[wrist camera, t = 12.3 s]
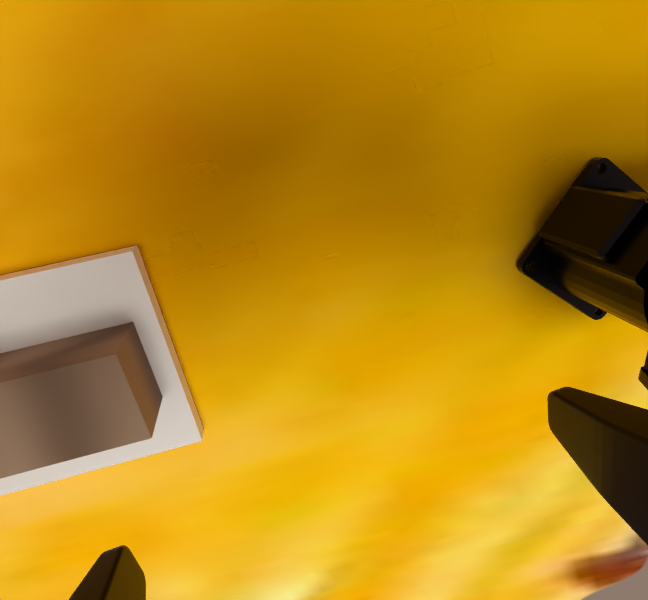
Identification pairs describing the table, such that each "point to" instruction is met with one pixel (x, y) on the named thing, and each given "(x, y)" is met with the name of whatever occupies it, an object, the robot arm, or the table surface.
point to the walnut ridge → (75, 398)
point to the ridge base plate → (90, 315)
